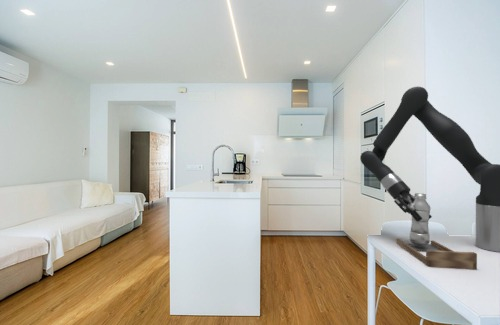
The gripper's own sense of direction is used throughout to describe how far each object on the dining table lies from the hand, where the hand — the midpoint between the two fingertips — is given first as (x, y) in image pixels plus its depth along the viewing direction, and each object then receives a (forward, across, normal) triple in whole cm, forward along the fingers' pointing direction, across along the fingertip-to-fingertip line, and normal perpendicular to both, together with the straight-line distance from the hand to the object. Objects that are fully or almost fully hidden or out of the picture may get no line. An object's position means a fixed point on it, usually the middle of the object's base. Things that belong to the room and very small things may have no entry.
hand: (424, 219), depth 93 cm
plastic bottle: (+6, 0, +9) cm, 11 cm away
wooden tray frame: (+11, -4, +5) cm, 13 cm away
